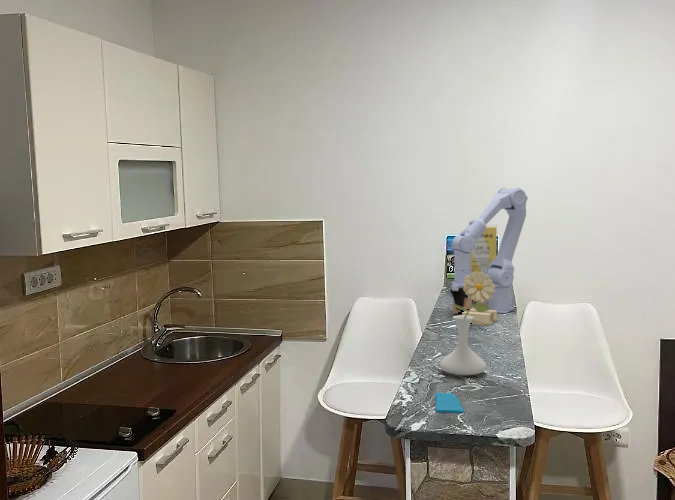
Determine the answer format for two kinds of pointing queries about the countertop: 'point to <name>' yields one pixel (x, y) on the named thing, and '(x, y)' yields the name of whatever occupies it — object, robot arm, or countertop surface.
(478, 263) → the pasta box
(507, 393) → the countertop surface
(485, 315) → the birch base
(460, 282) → the robot arm
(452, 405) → the sponge
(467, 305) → the terracotta cube
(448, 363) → the flower in vase
